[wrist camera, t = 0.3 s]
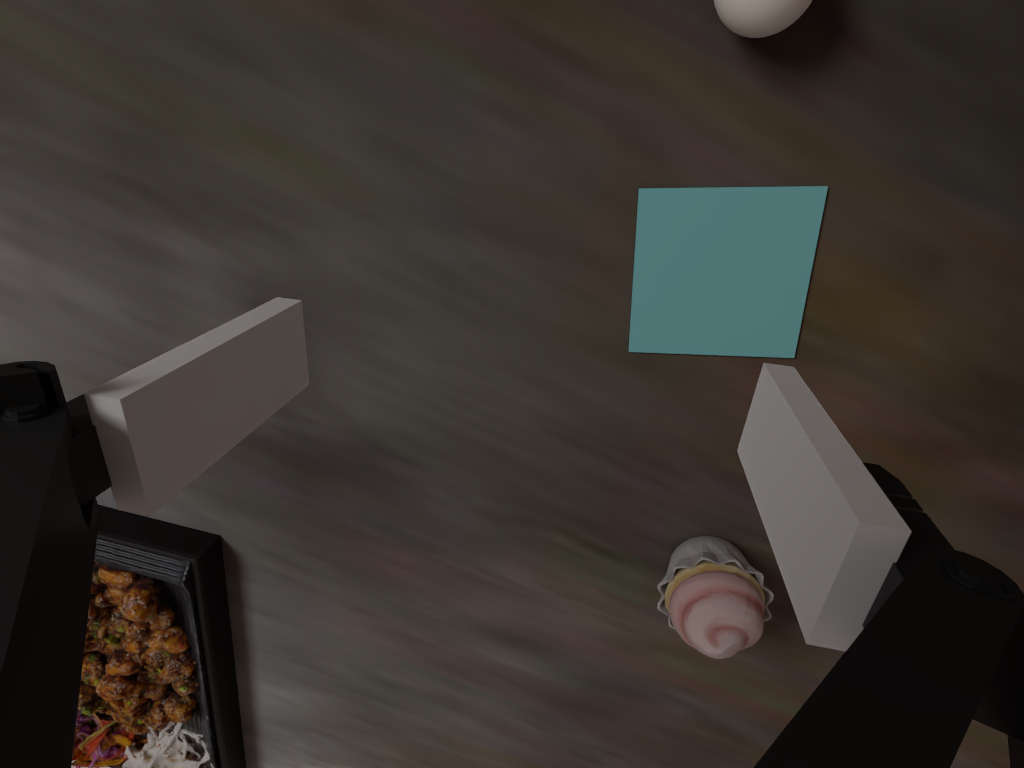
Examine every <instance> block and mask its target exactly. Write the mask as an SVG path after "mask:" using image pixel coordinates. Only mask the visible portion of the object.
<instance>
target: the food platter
mask: <svg viewBox="0 0 1024 768" xmlns="http://www.w3.org/2000/svg"><path fill="white" fill-rule="evenodd" d="M98 507H99V511H100V516H99V525H98V533H97V542H96V551H95V560H94V569H93V577H92V586H91V595H90V604H89V613H88V622H87V630H86V639H85V648H84V657H83V666H82V674H81V683H80V692H79V701H78V710H77V718H76V727H75V736H74V745H73V754H72V761H73V760H76V761H75V762H74V763H71V765H73V766H76V768H80V767H89V768H93V767H95V768H98V767H104V766H108V767H111V768H246V762H245V753H244V744H243V735H242V726H241V716H240V707H239V698H238V689H237V680H236V671H235V662H234V652H233V643H232V634H231V625H230V616H229V607H228V598H227V589H226V579H225V570H224V561H223V552H222V543H221V536H220V535H216V534H212V533H208V532H204V531H200V530H196V529H192V528H188V527H184V526H180V525H176V524H172V523H169V522H165V521H161V520H157V519H153V518H149V517H145V516H141V515H137V514H133V513H129V512H125V511H121V510H117V509H113V508H109V507H105V506H101V505H98ZM180 576H181V577H180ZM155 579H156V580H155ZM181 626H182V627H181ZM124 650H125V651H124ZM177 661H178V662H177ZM204 691H205V692H204ZM123 703H124V704H123ZM152 704H153V705H152ZM182 728H183V729H182ZM151 737H152V738H151ZM197 747H198V748H197Z"/></svg>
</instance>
